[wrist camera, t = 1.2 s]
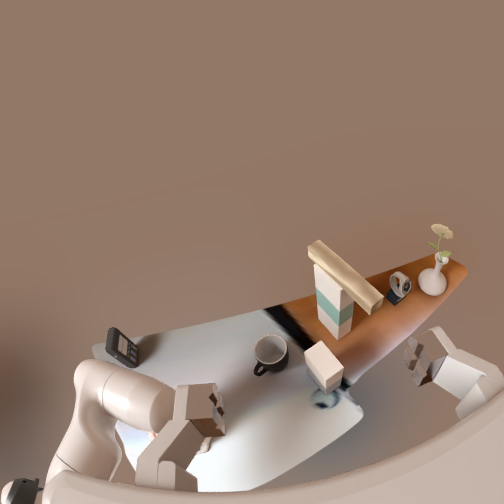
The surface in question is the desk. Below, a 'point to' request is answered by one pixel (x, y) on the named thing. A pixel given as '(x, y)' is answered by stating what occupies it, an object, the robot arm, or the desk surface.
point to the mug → (271, 354)
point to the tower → (333, 304)
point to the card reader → (121, 348)
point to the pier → (323, 368)
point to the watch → (398, 288)
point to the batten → (346, 277)
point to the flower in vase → (433, 278)
